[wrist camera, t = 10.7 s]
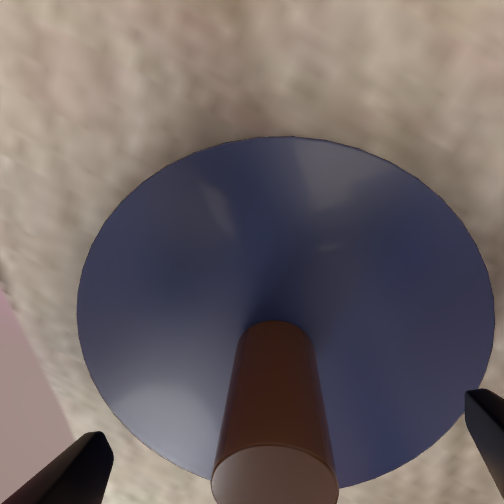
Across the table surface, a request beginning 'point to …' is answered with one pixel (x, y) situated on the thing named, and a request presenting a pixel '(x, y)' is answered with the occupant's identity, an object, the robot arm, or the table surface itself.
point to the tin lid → (285, 317)
